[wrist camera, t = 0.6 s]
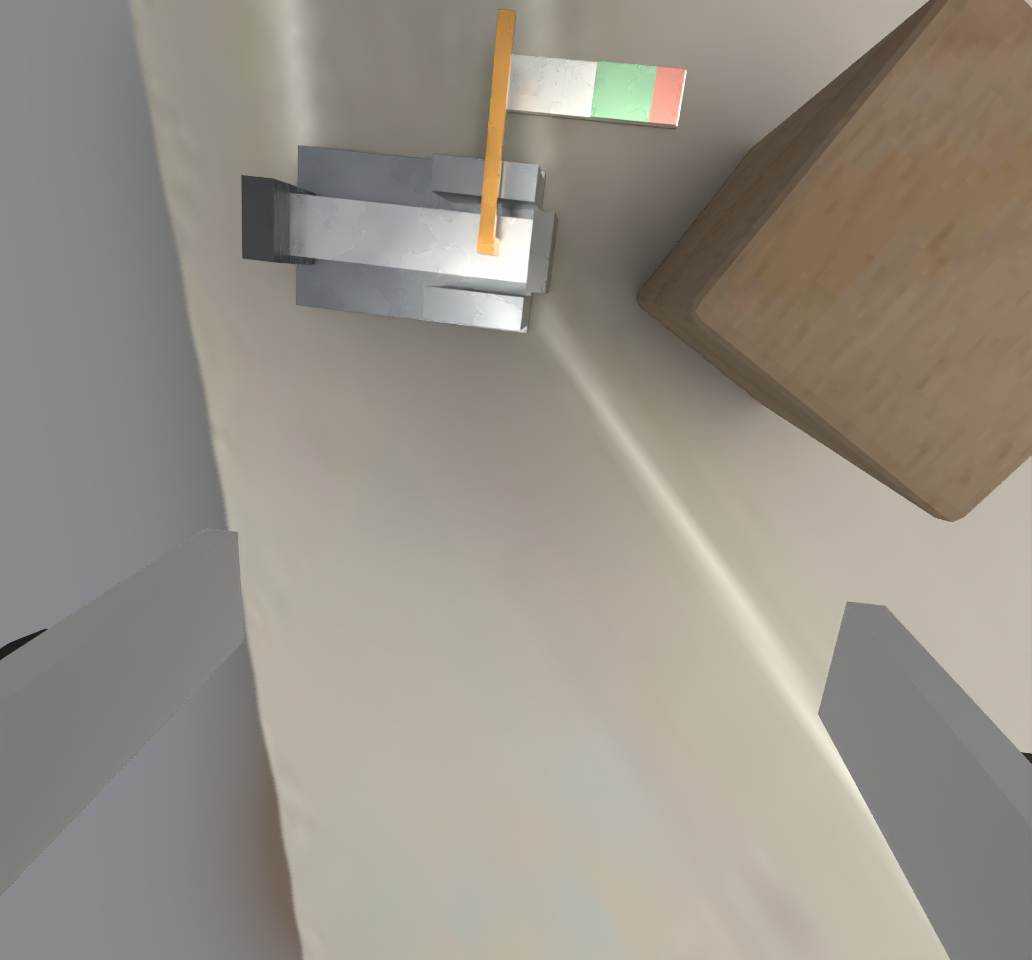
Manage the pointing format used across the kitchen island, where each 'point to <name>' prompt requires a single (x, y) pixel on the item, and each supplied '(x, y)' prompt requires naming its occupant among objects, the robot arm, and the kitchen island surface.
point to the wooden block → (884, 260)
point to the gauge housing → (472, 192)
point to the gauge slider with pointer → (409, 217)
